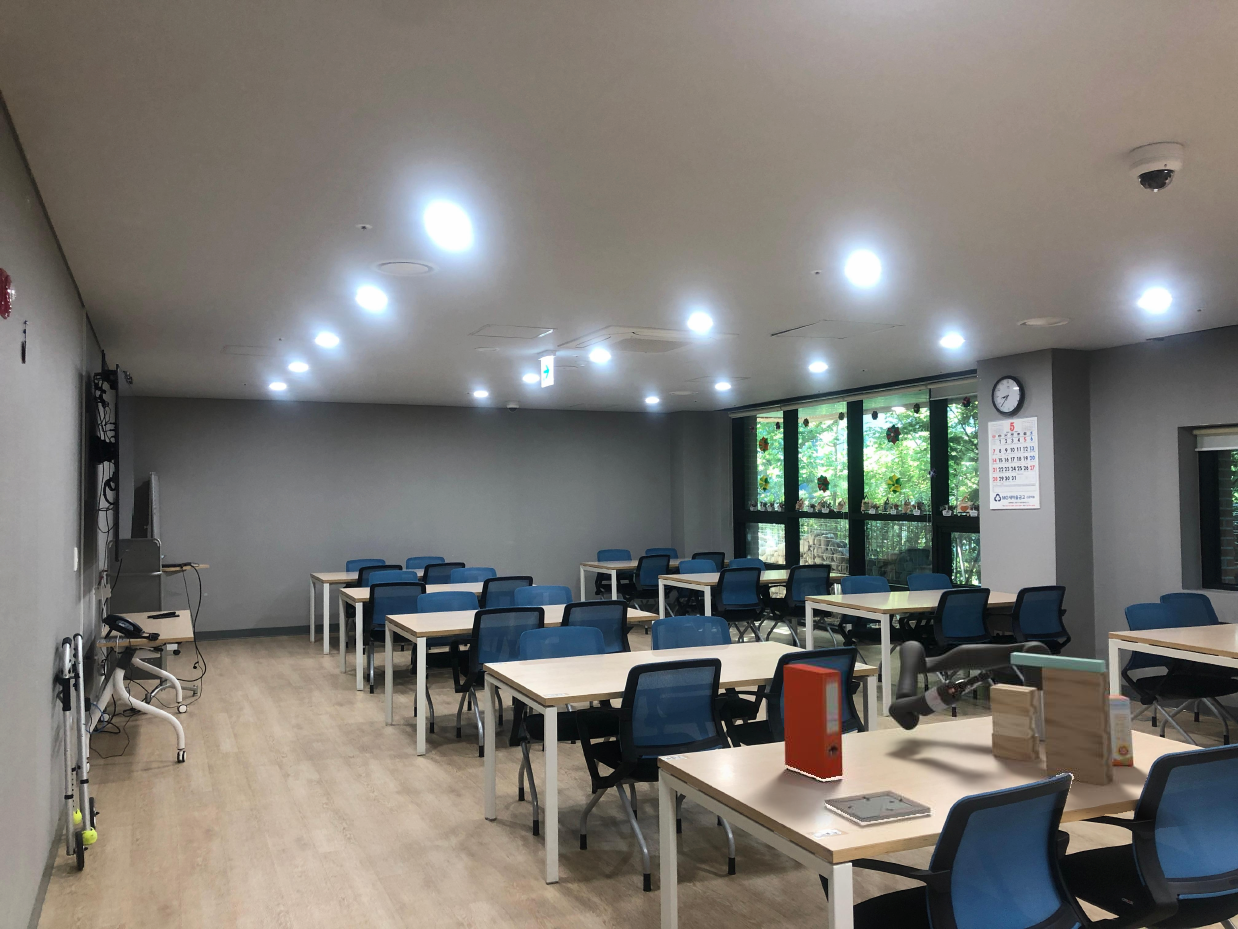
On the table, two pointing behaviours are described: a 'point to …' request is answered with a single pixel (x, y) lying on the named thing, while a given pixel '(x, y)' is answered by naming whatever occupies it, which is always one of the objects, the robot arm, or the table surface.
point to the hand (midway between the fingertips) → (984, 676)
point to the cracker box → (1121, 730)
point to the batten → (1058, 662)
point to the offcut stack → (1014, 722)
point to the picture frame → (877, 806)
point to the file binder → (813, 720)
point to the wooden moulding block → (1077, 724)
